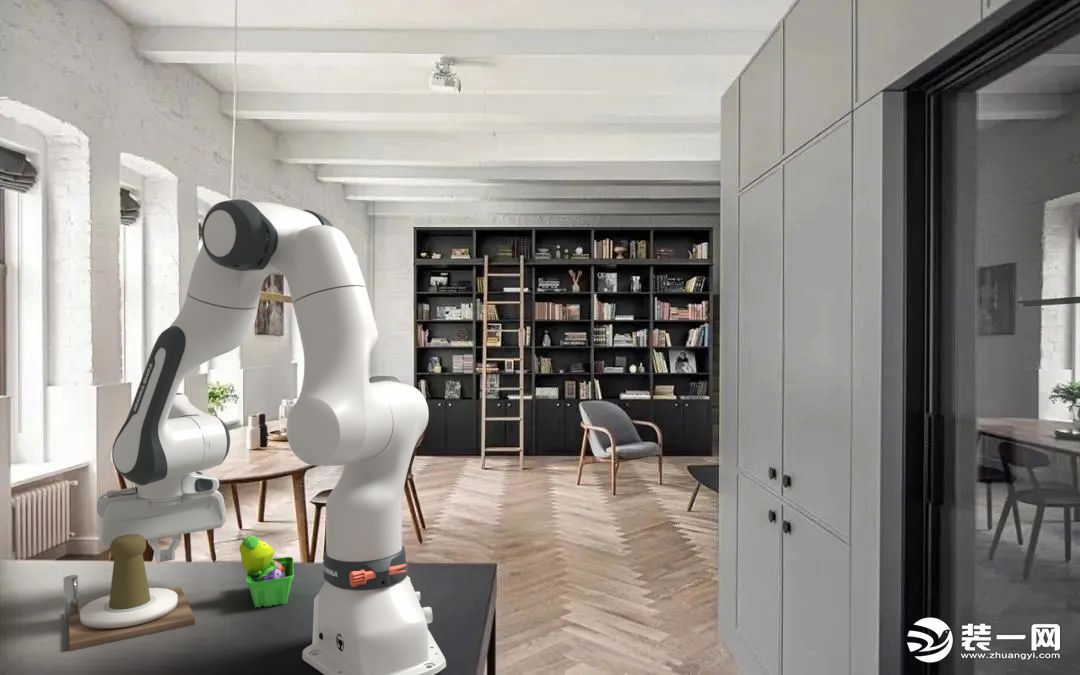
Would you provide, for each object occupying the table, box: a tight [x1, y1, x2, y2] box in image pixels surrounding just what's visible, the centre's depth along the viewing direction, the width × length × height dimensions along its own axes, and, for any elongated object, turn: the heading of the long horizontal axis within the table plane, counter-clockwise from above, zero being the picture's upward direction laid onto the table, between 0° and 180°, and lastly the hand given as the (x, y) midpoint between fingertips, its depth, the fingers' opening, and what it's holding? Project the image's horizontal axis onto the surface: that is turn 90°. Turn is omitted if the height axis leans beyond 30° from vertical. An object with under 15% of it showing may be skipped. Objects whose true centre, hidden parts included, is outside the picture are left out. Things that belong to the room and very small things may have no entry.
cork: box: [109, 534, 151, 610], centre depth 122 cm, size 6×6×11 cm
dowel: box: [62, 574, 80, 623], centre depth 122 cm, size 2×2×7 cm
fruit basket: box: [239, 535, 295, 609], centre depth 131 cm, size 11×9×11 cm
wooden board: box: [68, 585, 196, 652], centre depth 123 cm, size 17×17×1 cm
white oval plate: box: [80, 587, 178, 628], centre depth 124 cm, size 18×14×4 cm
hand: (165, 560), depth 134 cm, fingers closed
